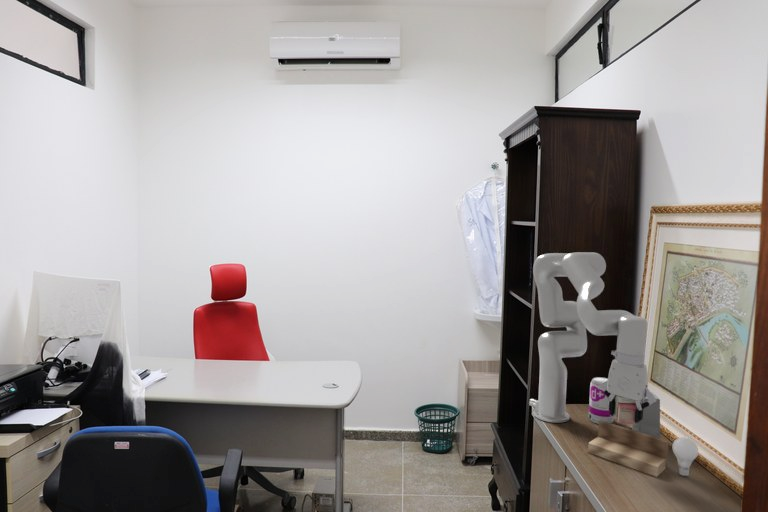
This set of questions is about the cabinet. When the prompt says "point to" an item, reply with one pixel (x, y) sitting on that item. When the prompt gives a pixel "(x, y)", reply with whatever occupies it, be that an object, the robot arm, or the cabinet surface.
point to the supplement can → (599, 402)
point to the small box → (625, 410)
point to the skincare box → (650, 419)
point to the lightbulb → (684, 454)
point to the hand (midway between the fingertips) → (625, 417)
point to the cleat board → (630, 448)
